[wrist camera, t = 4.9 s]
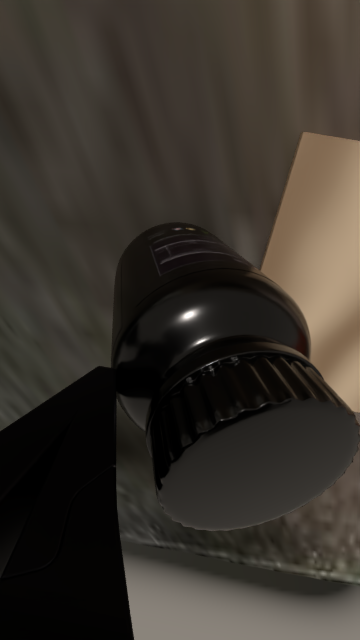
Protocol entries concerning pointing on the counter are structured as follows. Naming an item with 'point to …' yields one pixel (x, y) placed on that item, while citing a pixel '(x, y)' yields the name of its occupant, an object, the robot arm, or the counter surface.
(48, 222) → the counter surface
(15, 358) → the counter surface
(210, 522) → the supplement bottle
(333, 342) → the cork mat
